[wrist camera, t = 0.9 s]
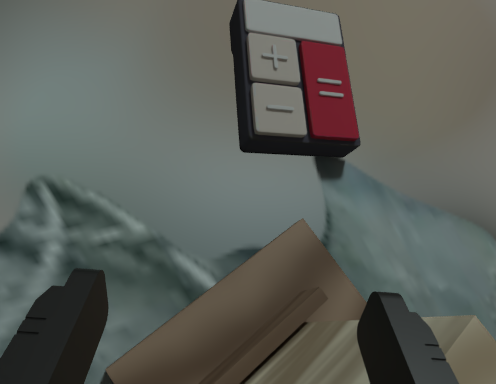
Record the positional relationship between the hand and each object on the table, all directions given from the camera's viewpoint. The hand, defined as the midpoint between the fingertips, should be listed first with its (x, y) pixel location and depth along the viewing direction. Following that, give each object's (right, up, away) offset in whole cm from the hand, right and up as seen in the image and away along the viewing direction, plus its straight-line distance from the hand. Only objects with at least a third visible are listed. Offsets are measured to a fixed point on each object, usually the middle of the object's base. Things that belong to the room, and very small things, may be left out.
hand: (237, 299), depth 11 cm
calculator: (+4, +14, +26) cm, 30 cm away
